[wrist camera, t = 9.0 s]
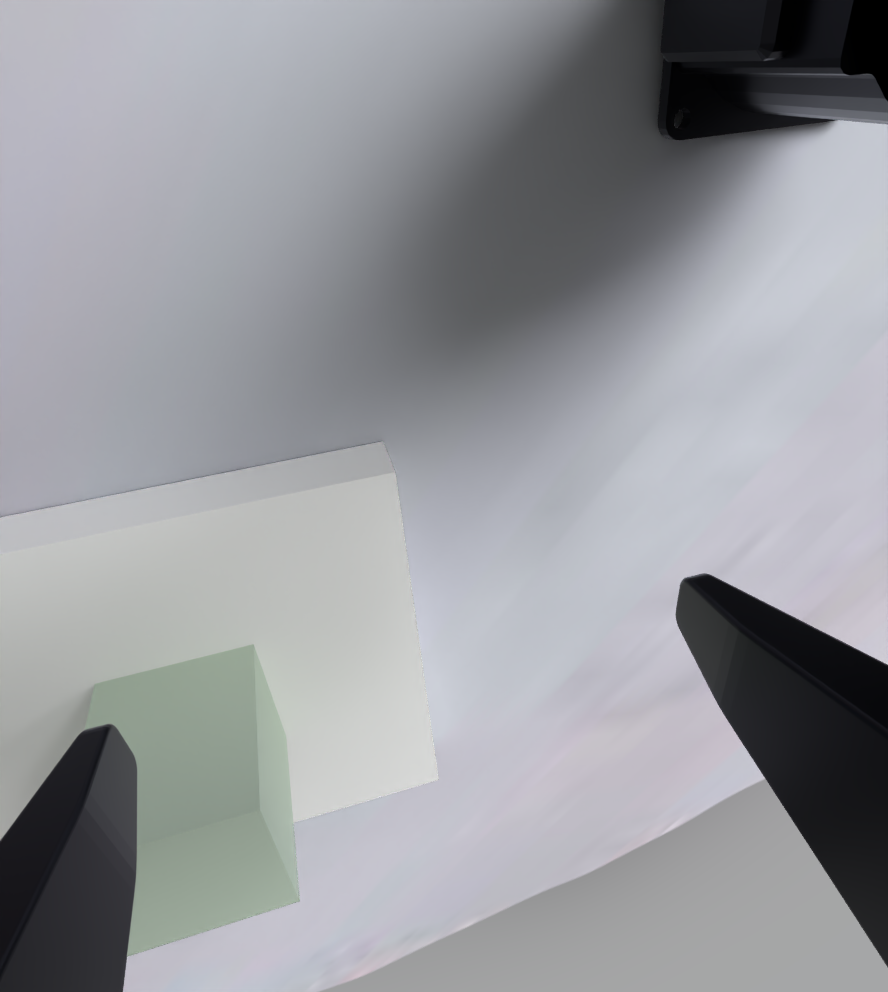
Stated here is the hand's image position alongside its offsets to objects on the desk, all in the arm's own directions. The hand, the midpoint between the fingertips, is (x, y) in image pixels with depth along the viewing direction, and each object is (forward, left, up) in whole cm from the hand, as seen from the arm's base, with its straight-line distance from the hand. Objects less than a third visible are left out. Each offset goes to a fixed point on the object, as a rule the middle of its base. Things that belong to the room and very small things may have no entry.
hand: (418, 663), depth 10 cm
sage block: (+7, +10, -10) cm, 16 cm away
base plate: (+7, +10, -12) cm, 17 cm away
